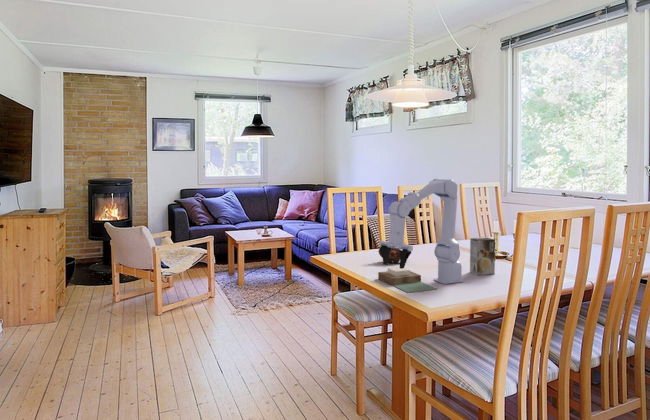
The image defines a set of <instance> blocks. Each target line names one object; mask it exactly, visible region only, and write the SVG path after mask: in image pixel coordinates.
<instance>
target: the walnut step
mask: <svg viewBox="0 0 650 420" xmlns="http://www.w3.org/2000/svg"><path fill="white" fill-rule="evenodd" d="M377 275H378V277H377V279H378V280H380V281H381V282H383V283H386V284H388V285H390V286H392V285H395V284H404V283H413V282H422V275H421V274H418V273H416V272H413V271H411V270H410V275H402V276H394V275H392V274H390V273H388V270H387V271H379V272H378V273H377Z"/></svg>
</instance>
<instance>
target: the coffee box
mask: <svg viewBox="0 0 650 420" xmlns="http://www.w3.org/2000/svg"><path fill="white" fill-rule="evenodd" d="M469 241H470V242H469V243H470V245H469V246H470V247H469V248H470V249H469V250H470V251H469V253H470V255H469V258H470V259H469V272H470V273H471V274H472V275H475V276H486V275H495V270H496V269H495V265H496V264H495V262H496V261H495V259H496V256H495V255H496V254H495V253H496V239H494V238H489V237H475V238H473V237H472V238H470V239H469Z"/></svg>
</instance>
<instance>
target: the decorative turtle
mask: <svg viewBox="0 0 650 420" xmlns="http://www.w3.org/2000/svg"><path fill="white" fill-rule="evenodd" d="M399 250H401V249H396V248H391V250H390V254H389V261H388V263H390V264H391V263H392V262H393V263H395V264H400V252H399ZM378 254H379V256H380V257H381V258H382V254H381V252H380V250H379V249H378Z"/></svg>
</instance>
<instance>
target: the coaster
mask: <svg viewBox="0 0 650 420" xmlns="http://www.w3.org/2000/svg"><path fill="white" fill-rule="evenodd" d="M387 271H388V273H390V274H392V275H394V276H402V275H410V271H411V270H410V269H409V268H406V267H404V268H402V269H401V268H400V266H396V267H387Z"/></svg>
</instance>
